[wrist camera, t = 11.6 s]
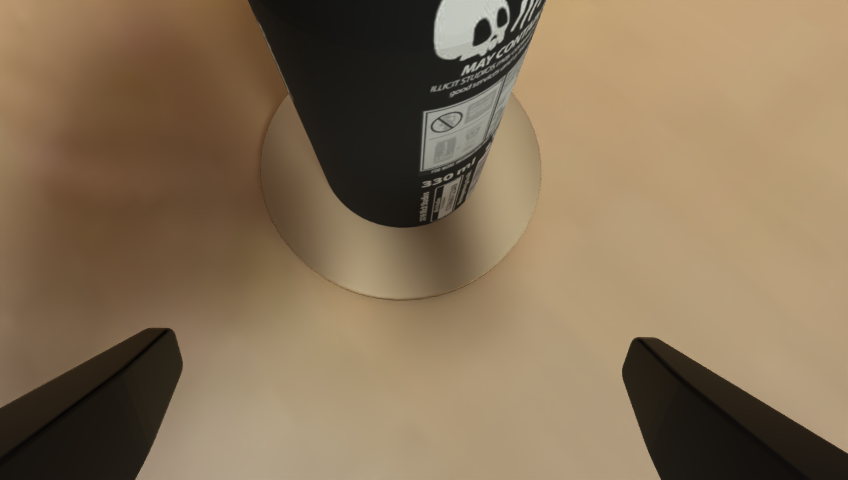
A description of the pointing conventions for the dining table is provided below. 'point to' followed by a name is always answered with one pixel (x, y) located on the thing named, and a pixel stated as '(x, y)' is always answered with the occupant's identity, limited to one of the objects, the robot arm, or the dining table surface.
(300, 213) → the disc
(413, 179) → the beverage can
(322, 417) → the dining table surface
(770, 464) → the robot arm
